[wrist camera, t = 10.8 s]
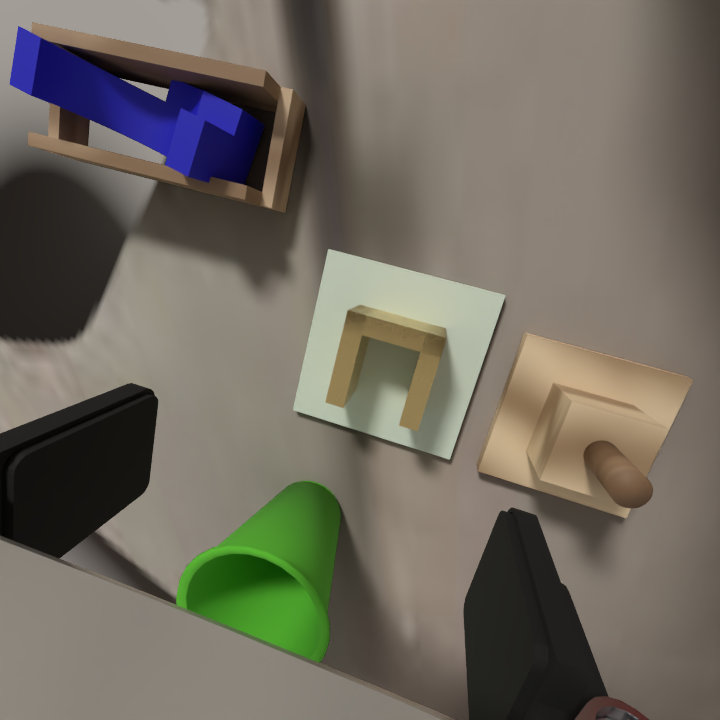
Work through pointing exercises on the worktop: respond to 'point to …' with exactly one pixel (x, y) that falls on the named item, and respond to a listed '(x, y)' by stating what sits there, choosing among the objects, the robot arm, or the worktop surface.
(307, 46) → the worktop surface
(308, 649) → the cup
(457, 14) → the worktop surface
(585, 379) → the peg stand
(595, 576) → the worktop surface
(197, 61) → the clip holder
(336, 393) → the c link
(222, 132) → the blue stepped block
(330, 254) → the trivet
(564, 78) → the worktop surface
